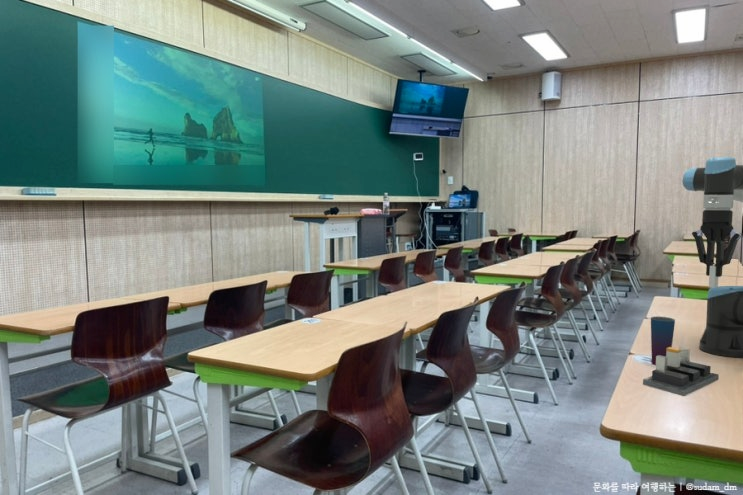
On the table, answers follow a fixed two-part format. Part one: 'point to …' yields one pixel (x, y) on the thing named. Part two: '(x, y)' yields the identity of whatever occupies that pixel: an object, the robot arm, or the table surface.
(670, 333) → the cup
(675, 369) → the panel
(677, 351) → the handle
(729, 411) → the table surface
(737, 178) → the robot arm
